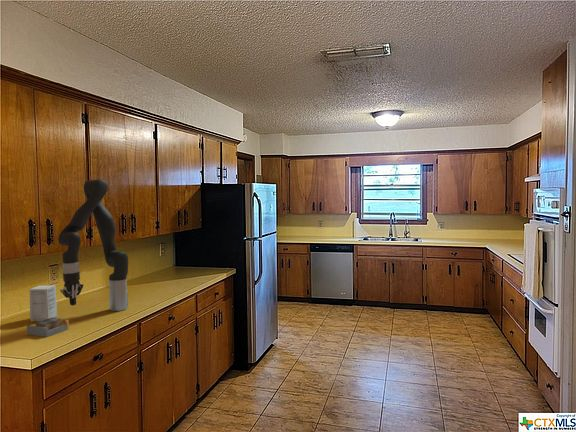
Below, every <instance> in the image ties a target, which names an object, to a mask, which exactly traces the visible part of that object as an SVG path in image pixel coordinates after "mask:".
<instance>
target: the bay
mask: <svg viewBox="0 0 576 432" xmlns="http://www.w3.org/2000/svg"><path fill="white" fill-rule="evenodd" d="M48 319H49V318H48ZM69 330H70V319H66V320H64V324H63V325H62V326H59V327H56V328H54V329H51V330H48V328H46V327H38V326H36V325H30V324H29V325H26V335H28V336H29V335H30V336H35V337H36V336H37V337H41V338H48V337H51V336H53V335H57V334H59V333H62V332H65V331H69Z"/></svg>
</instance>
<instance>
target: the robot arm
mask: <svg viewBox="0 0 576 432" xmlns="http://www.w3.org/2000/svg"><path fill="white" fill-rule="evenodd" d="M108 189H109V186H108V183H107V181H106V180H103V179H88V180H86V181H85V182H84V184H83V191H84V194H85V197H86V199H87V200H86V201H85V202H84V203H82V204H81V206H80V207H78V209H77V210H75V212H74V214H73V215H72V217H71V219H70V221H69V222H68V224H67V225H65V227H64V228H63V229H62V230H61V231H60V233H59V235H58V238H57V240H58V244H59V245H61V246H64V247H67V250H65V251H63V253H62V278H63V279H62V281H63V282H64V285H63V288H62V289H60V293H61V294H62V295H63V296H64V297H65V298H67V299H68V298H69V304H70V306H75V305H77V297H78V296H80V294H81V292H82V290H83V288H84V284H82V283H80V279H81V275H80V274H81V273H80V263H79V251H80V248H81V243H82V238H81V235H80V234H79V233H78V232H81V231H82V230H83V229H84V228H85V226H86V225H87V222H88V221H89V218H90V217H91V215H93V217H94V221H95V226H96V228H97V231H98V235H99V237H100V240H101V244H102V248H103V254H104V259H105V263H106V265H107V266H109V267H111V268H113V272H112V273H110V274H109V276H108V285H109V287H108V289H109V291H108V292H109V294H108V295H109V310H110V311H111V312H121V311H125V310H128V308H129V292H128V288H127V287H128V286H127V285H128V284H127V283H128V282H127V280H128V279H127V276H128V274H129V258H128V257H129V256H128V254H127V253H126V252H125V251H118V250H117V248H116V245H115V244H116V243H115V238H116V232H117V227H116V223H115V219H114V218H113V216H112V214H111V212H110V211H109V210H108V209H107V208H106V207H105V206H104V204H103V202H102V200H103V199H104V197H105V196H106V194H107V193H108V191H109V190H108Z"/></svg>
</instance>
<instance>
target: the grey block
mask: <svg viewBox="0 0 576 432" xmlns="http://www.w3.org/2000/svg"><path fill="white" fill-rule="evenodd" d="M35 326H38V327H46V328H48V330H51V329H54V328H56V327H59V326H62V318H57V317H54V318H49V319H46V320H43V321H35Z"/></svg>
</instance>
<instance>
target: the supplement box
mask: <svg viewBox="0 0 576 432" xmlns="http://www.w3.org/2000/svg"><path fill="white" fill-rule="evenodd" d="M28 293H29V311H30V312H29V314H30V315H29V316H30V322H39V321H43V320H46V319H48V318H57V317H58V305H57V303H58V301H57V286H56V285H37V286H35V287H32V288H30V289H29V292H28Z"/></svg>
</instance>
